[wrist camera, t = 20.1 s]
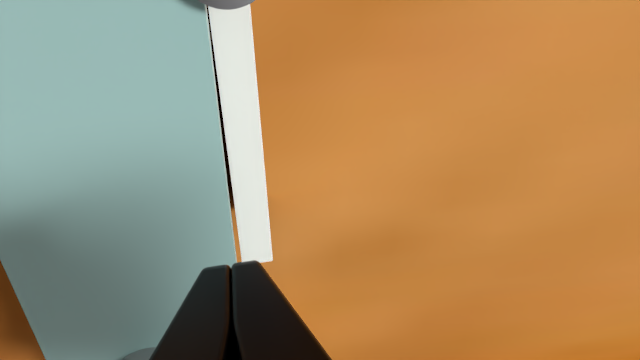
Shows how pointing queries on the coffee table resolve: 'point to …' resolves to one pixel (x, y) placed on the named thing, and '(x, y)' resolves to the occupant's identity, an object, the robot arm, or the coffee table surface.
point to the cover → (109, 168)
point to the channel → (242, 128)
